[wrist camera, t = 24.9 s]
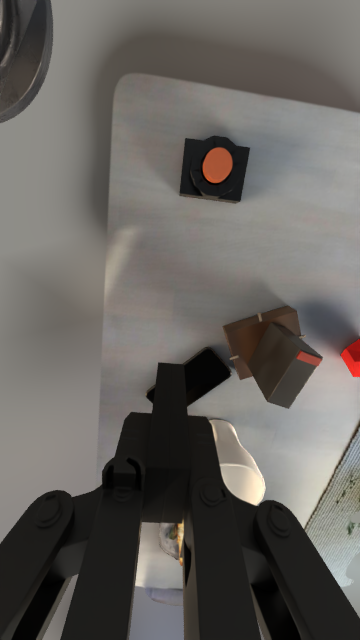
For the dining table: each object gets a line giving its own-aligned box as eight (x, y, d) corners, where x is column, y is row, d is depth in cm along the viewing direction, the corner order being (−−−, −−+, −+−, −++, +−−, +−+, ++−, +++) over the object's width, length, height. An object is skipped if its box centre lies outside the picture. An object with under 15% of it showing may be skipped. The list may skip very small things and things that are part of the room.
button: (200, 181, 29) (202, 178, 27) (204, 150, 28) (206, 145, 26) (226, 184, 29) (229, 182, 27) (231, 154, 28) (234, 149, 26)
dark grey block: (263, 371, 39) (289, 410, 30) (246, 364, 38) (267, 403, 30) (288, 328, 36) (324, 358, 28) (270, 321, 36) (301, 349, 27)
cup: (255, 445, 48) (277, 502, 38) (200, 466, 50) (207, 527, 40) (231, 401, 44) (248, 452, 34) (172, 426, 46) (172, 481, 36)
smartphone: (208, 343, 40) (143, 392, 43) (208, 345, 39) (142, 395, 42) (233, 372, 42) (169, 416, 45) (234, 374, 41) (169, 420, 44)
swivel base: (234, 378, 43) (239, 389, 40) (216, 318, 39) (219, 325, 36) (301, 358, 42) (311, 368, 39) (289, 294, 38) (299, 300, 35)
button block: (179, 196, 33) (179, 191, 29) (184, 143, 30) (186, 131, 27) (236, 204, 33) (244, 200, 29) (245, 152, 31) (254, 141, 27)
